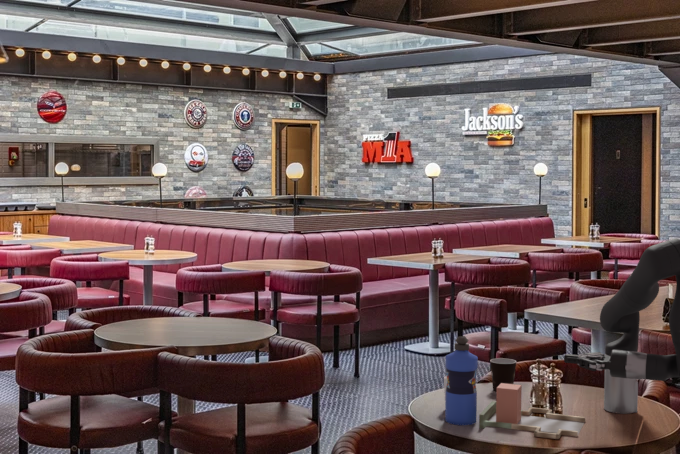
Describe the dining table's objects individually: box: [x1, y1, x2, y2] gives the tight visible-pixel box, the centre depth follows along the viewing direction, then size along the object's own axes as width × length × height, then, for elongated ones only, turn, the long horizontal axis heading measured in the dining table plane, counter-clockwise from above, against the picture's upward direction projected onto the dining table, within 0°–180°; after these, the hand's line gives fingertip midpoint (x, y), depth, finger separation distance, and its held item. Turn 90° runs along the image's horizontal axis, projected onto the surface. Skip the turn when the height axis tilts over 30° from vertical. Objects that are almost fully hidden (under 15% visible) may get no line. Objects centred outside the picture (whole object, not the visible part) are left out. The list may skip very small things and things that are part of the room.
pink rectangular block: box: [495, 383, 523, 424], centre depth 255 cm, size 6×6×10 cm
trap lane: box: [478, 400, 586, 440], centre depth 253 cm, size 27×25×4 cm
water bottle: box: [444, 335, 479, 426], centre depth 257 cm, size 9×9×25 cm
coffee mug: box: [489, 357, 517, 393], centre depth 295 cm, size 12×9×10 cm
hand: (564, 358), depth 248 cm, fingers closed
